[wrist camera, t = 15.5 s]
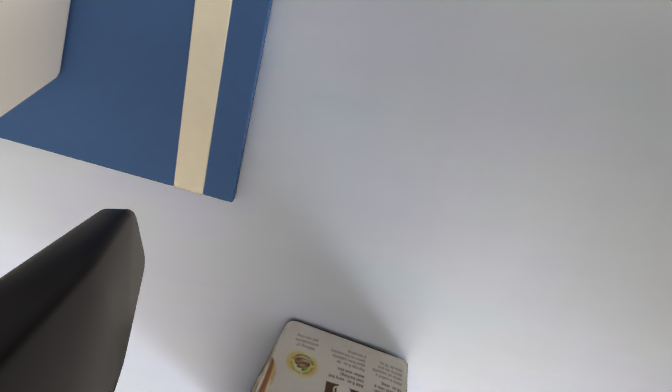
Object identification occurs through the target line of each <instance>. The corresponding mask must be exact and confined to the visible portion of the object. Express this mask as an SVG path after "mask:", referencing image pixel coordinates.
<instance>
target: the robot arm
mask: <svg viewBox="0 0 672 392" xmlns="http://www.w3.org/2000/svg"><path fill="white" fill-rule="evenodd" d="M144 265H145V256H144V250H143V245H142V241H141V236H140V232H139V227H138V222H137V218H136V216H135V214H134V212H132V211H131V210H129V209H103V210H101V211H99V212H97V213H96V214H94V215H93V216H91V217H90V218H89V219H87V220H86V221H84V222H83V223H81V224H80V225H78V226H77V227H75V228H74V229H72V230H71V231H69V232H68V233H66V234H65V235H63V236H62V237H60V238H59V239H57V240H56V241H54V242H53V243H52V244H50V245H49V246H47V247H46V248H44V249H43V250H41V251H40V252H38V253H37V254H35V255H34V256H32V257H31V258H29V259H28V260H26V261H25V262H23V263H22V264H20V265H19V266H17V267H16V268H14V269H13V270H12V271H10V272H9V273H7V274H6V275H4V276H3V277H1V278H0V392H114V391H115V388H116V385H117V382H118V379H119V376H120V373H121V369H122V366H123V363H124V359H125V354H126V350H127V346H128V341H129V337H130V332H131V328H132V323H133V318H134V314H135V309H136V304H137V300H138V295H139V291H140V286H141V281H142V277H143V272H144Z"/></svg>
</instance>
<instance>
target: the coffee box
mask: <svg viewBox="0 0 672 392" xmlns="http://www.w3.org/2000/svg"><path fill="white" fill-rule="evenodd" d="M407 376H408V364H407V362H406V361H404V360H402V359H400V358H397V357H394V356H391V355H388V354H386V353H383V352H380V351H377V350H375V349H372V348H369V347H366V346H364V345H361V344H358V343H355V342H352V341H350V340H347V339H344V338H341V337H339V336H336V335H333V334H330V333H328V332H325V331H322V330H319V329H317V328H314V327H311V326H309V325H306V324H303V323H300V322H298V321H290V322H288V323H287V324H286V325H285V327H284V329H283V331H282V333H281V335H280V336H279V338H278V340H277V342H276V344H275V346H274V348H273V350H272V352H271V354H270V356H269V358H268V359H267V361H266V363H265V365H264V367H263V369H262V371H261V373H260V375H259V377H258V379H257V380H256V382H255V384H254V386H253V388H252V390H251V392H407Z"/></svg>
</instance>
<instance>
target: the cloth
mask: <svg viewBox="0 0 672 392" xmlns="http://www.w3.org/2000/svg"><path fill="white" fill-rule="evenodd" d="M271 5H272V0H71V2H70V9H69V15H68V22H67V29H66V35H65V42H64V49H63V55H62V62H61V68H60V72H59V74H58V76H57V77H56V78H55V79H54V80H52V81H51V82H49V83H48V84H47V85H45V86H44V87H42V88H41V89H39V90H38V91H37V92H35V93H34V94H32V95H31V96H30V97H28V98H27V99H25V100H24V101H22V102H21V103H20V104H18V105H17V106H15V107H14V108H13V109H11V110H10V111H8V112H7V113H5V114H4V115H3V116H1V117H0V138H4V139H7V140H11V141H15V142H18V143H22V144H25V145H29V146H32V147H36V148H40V149H43V150H47V151H50V152H54V153H57V154H61V155H65V156H68V157H72V158H75V159H79V160H82V161H86V162H90V163H93V164H97V165H100V166H104V167H107V168H111V169H115V170H118V171H122V172H125V173H129V174H132V175H136V176H140V177H143V178H147V179H150V180H154V181H157V182H161V183H165V184H168V185H172V186H174V187H177V188H180V189H184V190H188V191H191V192H195V193H198V194H204V195H207V196H211V197H215V198H218V199H222V200H225V201H229V202H233V200H234V198H235V193H236V188H237V183H238V177H239V172H240V167H241V162H242V157H243V151H244V146H245V141H246V136H247V130H248V125H249V120H250V115H251V109H252V104H253V99H254V94H255V89H256V83H257V78H258V73H259V68H260V62H261V57H262V52H263V47H264V42H265V36H266V31H267V26H268V21H269V15H270V10H271Z"/></svg>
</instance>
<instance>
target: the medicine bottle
mask: <svg viewBox="0 0 672 392" xmlns="http://www.w3.org/2000/svg"><path fill="white" fill-rule="evenodd" d="M70 2H71V0H0V117H1V116H3V115H4V114H5V113H7V112H8V111H10V110H11V109H13V108H14V107H15V106H17V105H18V104H20V103H21V102H22V101H24V100H25V99H27V98H28V97H30V96H31V95H32V94H34V93H35V92H37V91H38V90H39V89H41V88H42V87H44V86H45V85H47V84H48V83H49V82H51V81H52V80H54V79H55V78H56V77H57V76H58V74H59V72H60V68H61V62H62V55H63V49H64V42H65V35H66V29H67V22H68V15H69V9H70Z"/></svg>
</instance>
